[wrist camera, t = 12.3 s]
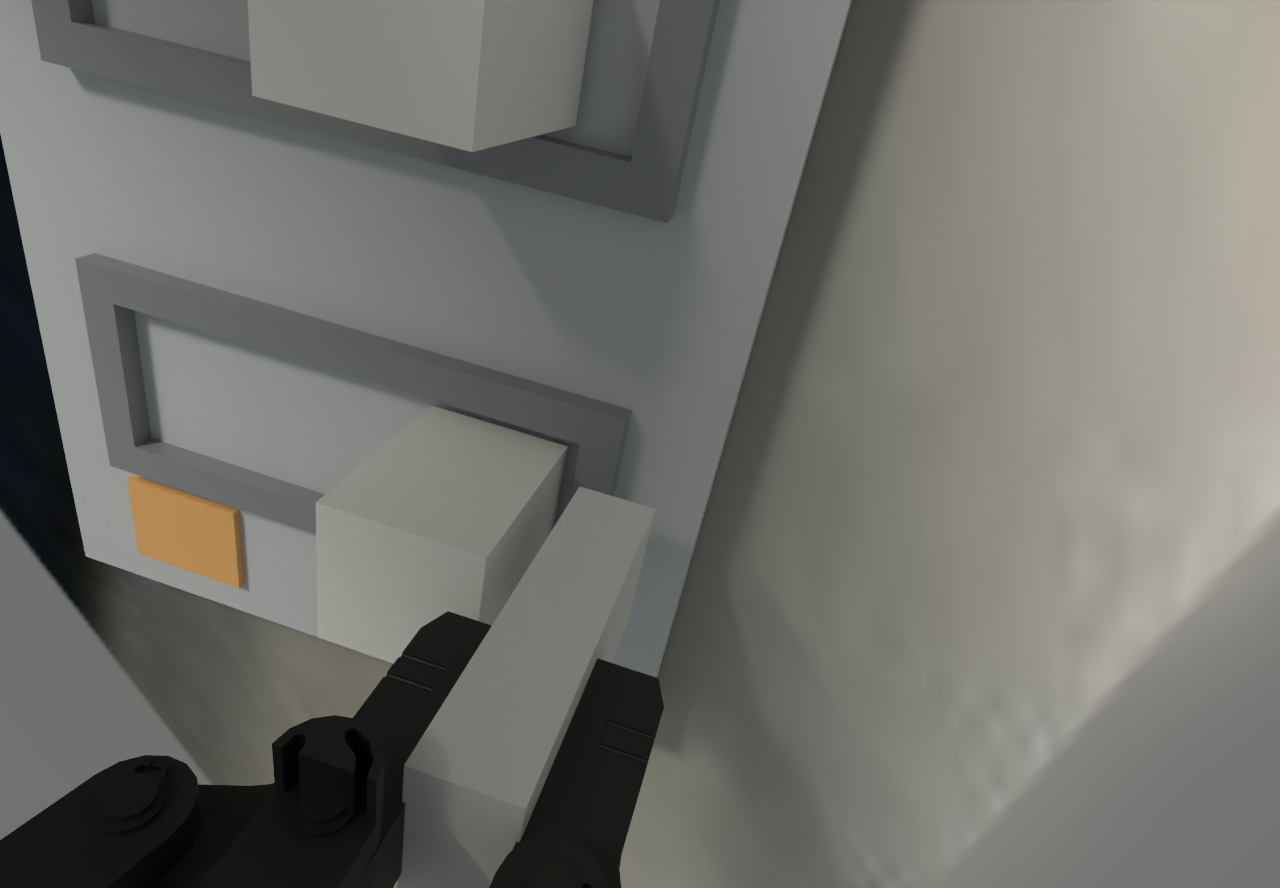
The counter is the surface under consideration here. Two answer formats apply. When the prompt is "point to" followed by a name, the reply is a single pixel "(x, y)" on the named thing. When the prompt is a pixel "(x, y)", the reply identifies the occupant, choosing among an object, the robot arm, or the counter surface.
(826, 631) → the counter surface
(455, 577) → the tab
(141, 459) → the switch plate
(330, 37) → the tab
